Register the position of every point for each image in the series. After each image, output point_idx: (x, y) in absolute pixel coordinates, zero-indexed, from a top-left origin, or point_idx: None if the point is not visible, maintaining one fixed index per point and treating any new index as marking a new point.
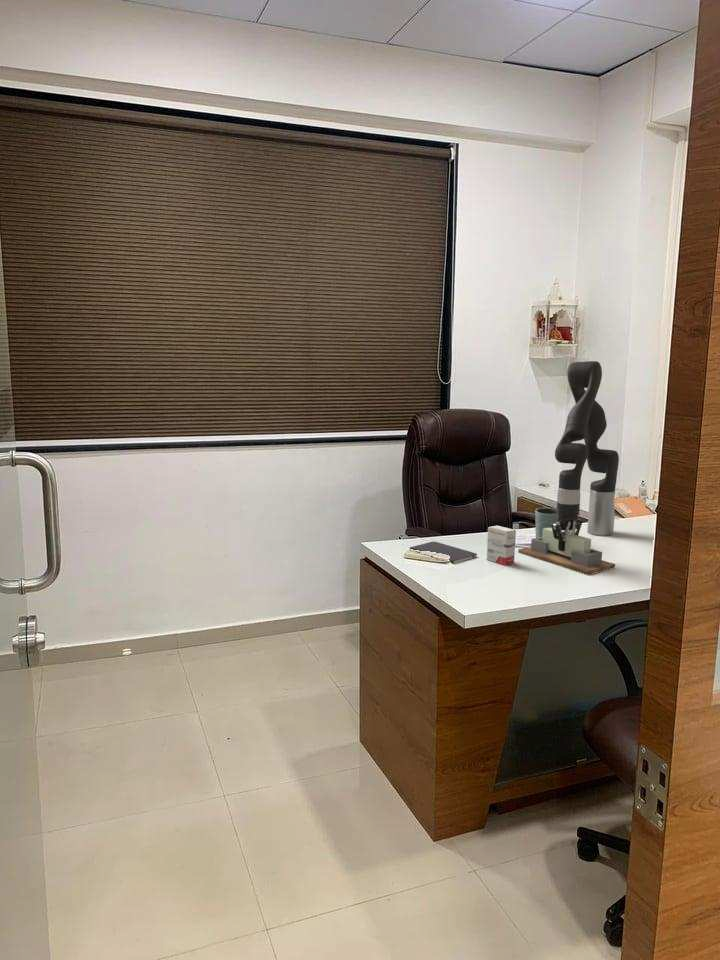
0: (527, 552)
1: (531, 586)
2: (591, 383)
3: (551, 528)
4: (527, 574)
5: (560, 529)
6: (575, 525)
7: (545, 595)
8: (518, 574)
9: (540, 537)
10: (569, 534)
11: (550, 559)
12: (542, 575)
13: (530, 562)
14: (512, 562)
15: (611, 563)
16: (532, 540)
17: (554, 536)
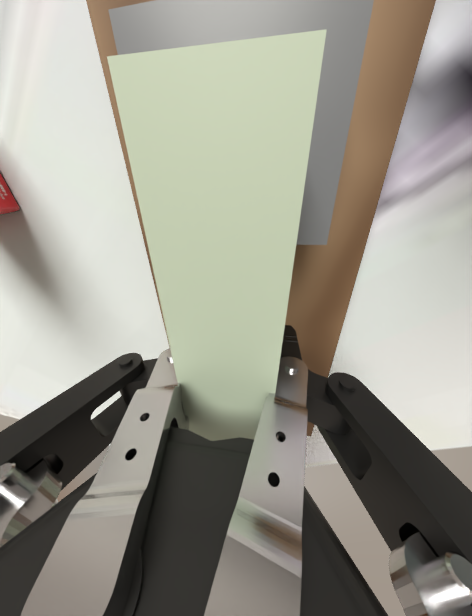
0: (118, 131)
1: (22, 375)
2: None
3: (274, 150)
4: (36, 324)
5: (154, 424)
6: (401, 518)
7: (36, 408)
8: (9, 310)
9: (246, 12)
10: (232, 427)
11: (158, 300)
12: (76, 351)
13: (94, 244)
14: (5, 212)
15: (308, 429)
16: (123, 47)
17: (105, 372)
